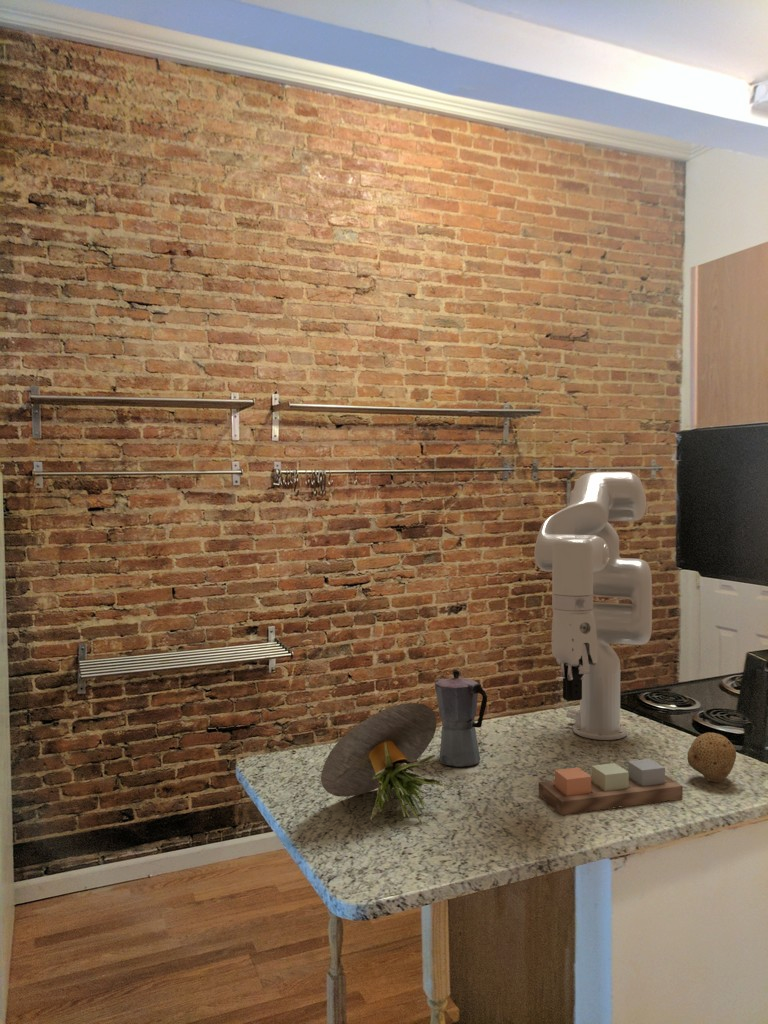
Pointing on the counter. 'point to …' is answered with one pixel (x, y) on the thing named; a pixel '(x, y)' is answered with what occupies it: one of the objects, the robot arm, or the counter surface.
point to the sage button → (610, 777)
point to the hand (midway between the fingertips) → (572, 699)
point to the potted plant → (383, 756)
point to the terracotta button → (572, 781)
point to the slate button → (646, 772)
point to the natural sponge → (712, 756)
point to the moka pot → (459, 719)
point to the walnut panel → (609, 796)
